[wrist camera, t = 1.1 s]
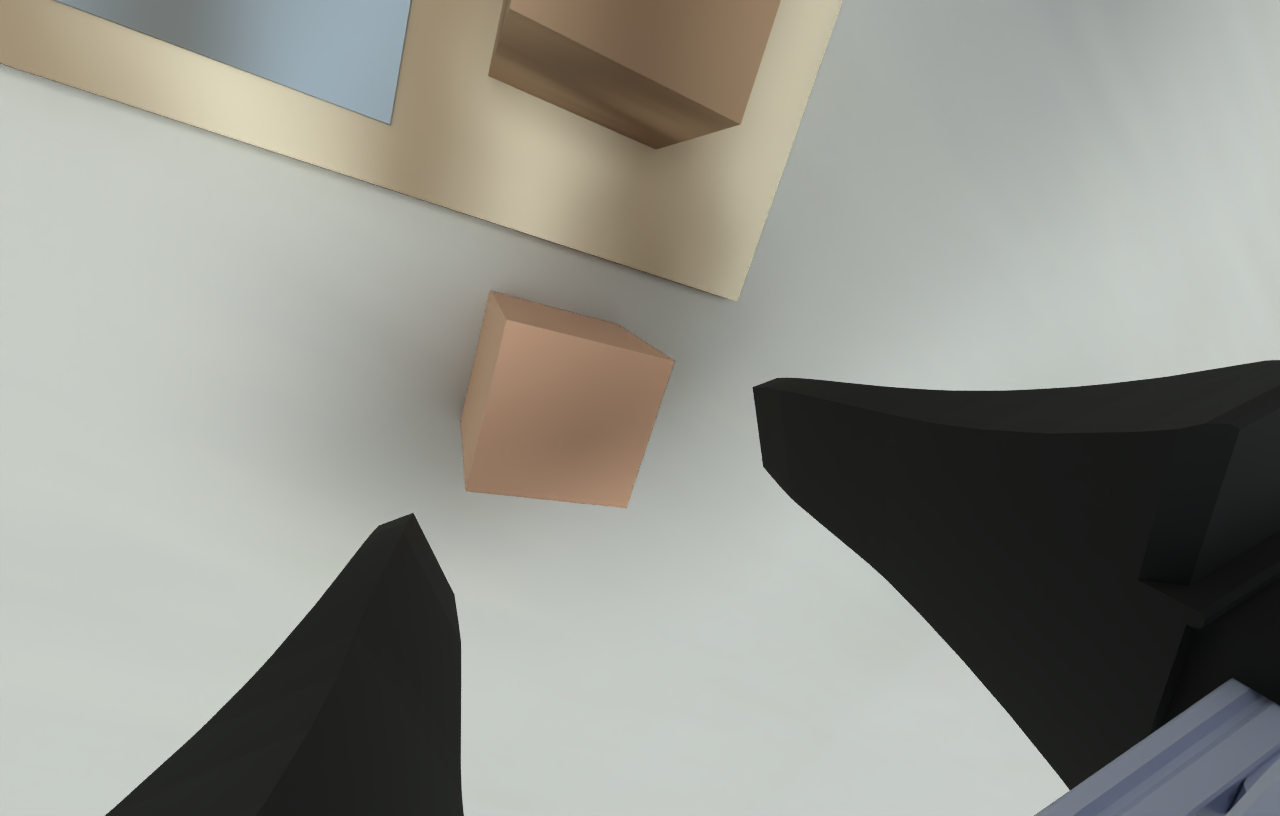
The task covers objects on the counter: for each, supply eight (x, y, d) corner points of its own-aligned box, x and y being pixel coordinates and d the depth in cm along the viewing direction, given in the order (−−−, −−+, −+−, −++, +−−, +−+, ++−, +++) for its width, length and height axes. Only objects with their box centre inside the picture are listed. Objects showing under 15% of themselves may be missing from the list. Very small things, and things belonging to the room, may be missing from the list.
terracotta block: (618, 324, 18) (675, 361, 14) (584, 439, 19) (626, 508, 15) (490, 290, 16) (506, 319, 12) (460, 420, 17) (465, 491, 13)
